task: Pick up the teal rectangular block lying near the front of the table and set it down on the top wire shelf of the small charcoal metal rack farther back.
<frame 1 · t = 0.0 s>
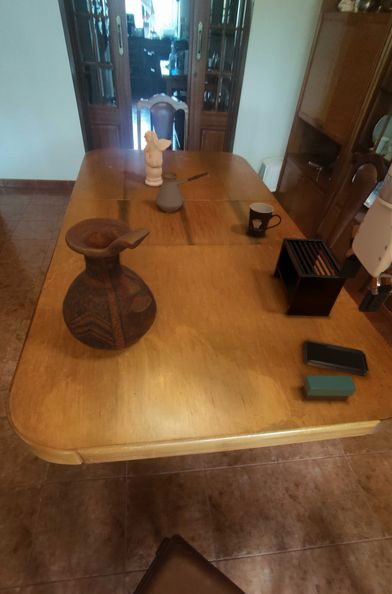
hand: (355, 293, 56), 25 cm above the table, tool pointing down, fingers open, 9 cm apart
coffee pot: (181, 209, 133), on the table
phone: (333, 359, 79), on the table
rack: (298, 294, 97), on the table
teal rectangular block: (323, 394, 71), on the table
jug: (114, 331, 81), on the table
cherub figurine: (157, 184, 151), on the table
coffee mug: (259, 235, 122), on the table
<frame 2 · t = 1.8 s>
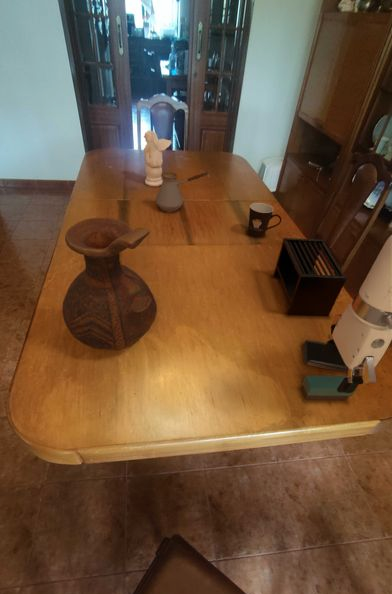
hand: (336, 372, 65), 8 cm above the table, tool pointing down, fingers open, 9 cm apart
nothing on the table moved.
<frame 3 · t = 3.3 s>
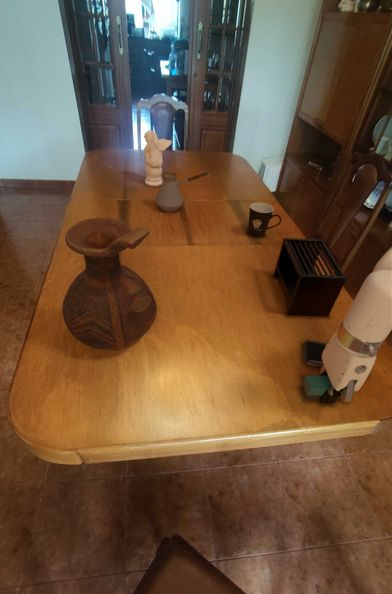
hand: (324, 393, 71), 0 cm above the table, tool pointing down, fingers closed on teal rectangular block, 3 cm apart
teal rectangular block: (323, 394, 71), on the table, touching gripper
everything else where it was.
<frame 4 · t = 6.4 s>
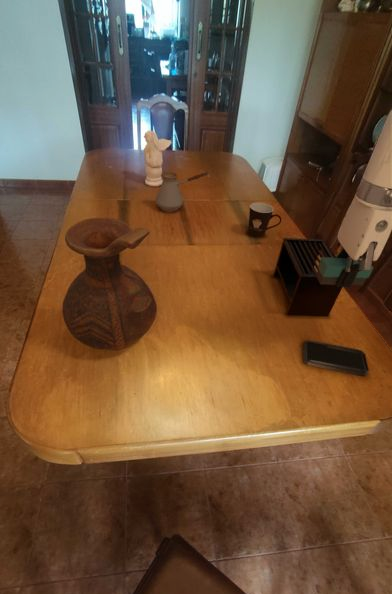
hand: (339, 279, 69), 19 cm above the table, tool pointing down, fingers closed on teal rectangular block, 3 cm apart
teal rectangular block: (338, 280, 69), point 19 cm above the table, touching gripper
everything else where it was.
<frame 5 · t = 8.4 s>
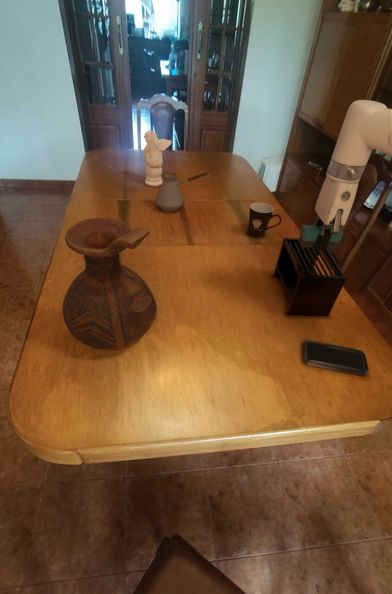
hand: (317, 244, 85), 17 cm above the table, tool pointing down, fingers closed on teal rectangular block, 3 cm apart
teal rectangular block: (316, 245, 85), point 16 cm above the table, touching gripper
everything else where it was.
when the fingers open (13 cm above the table, at t = 9.7 s): teal rectangular block stays where it is, resting on rack.
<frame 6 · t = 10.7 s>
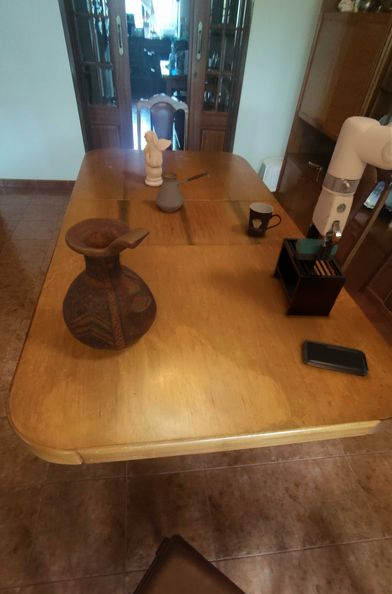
hand: (315, 250, 86), 15 cm above the table, tool pointing down, fingers open, 9 cm apart
teal rectangular block: (312, 257, 88), point 13 cm above the table, touching rack
everything else where it was.
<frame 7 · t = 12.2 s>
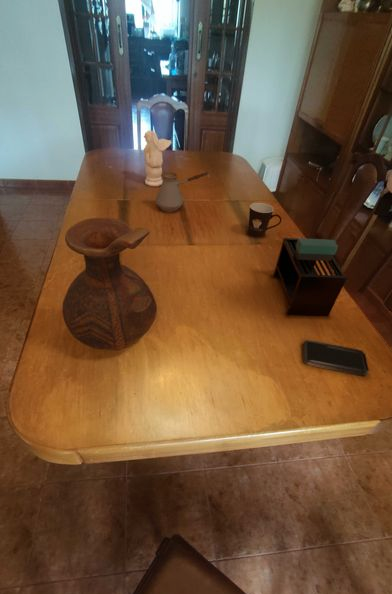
hand: (389, 224, 71), 27 cm above the table, tool pointing down, fingers open, 9 cm apart
nothing on the table moved.
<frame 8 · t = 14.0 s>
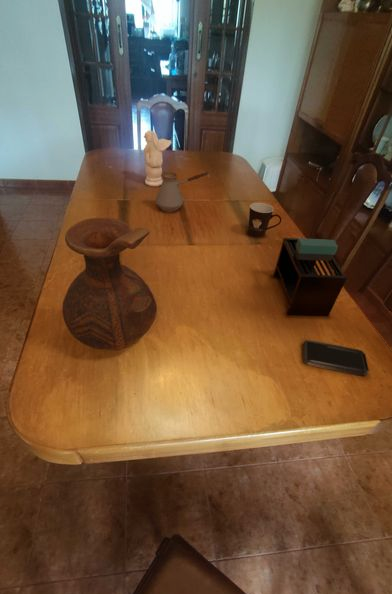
nothing on the table moved.
at the end: teal rectangular block inside the target area on the rack (0.1 cm from its centre), point 12.7 cm above the rack's base; teal rectangular block tilted 0°; the gripper is holding nothing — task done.
